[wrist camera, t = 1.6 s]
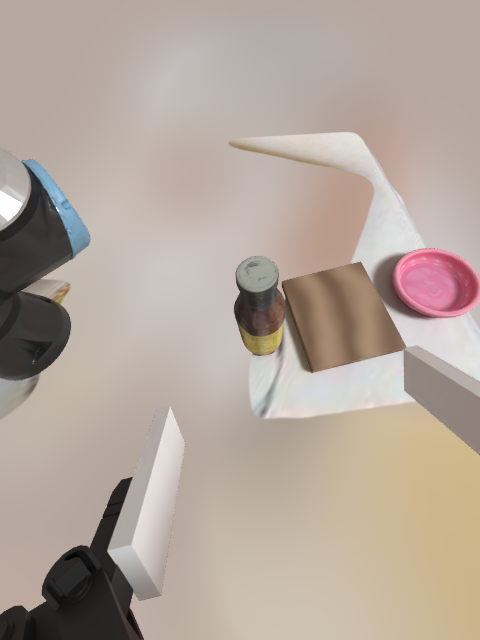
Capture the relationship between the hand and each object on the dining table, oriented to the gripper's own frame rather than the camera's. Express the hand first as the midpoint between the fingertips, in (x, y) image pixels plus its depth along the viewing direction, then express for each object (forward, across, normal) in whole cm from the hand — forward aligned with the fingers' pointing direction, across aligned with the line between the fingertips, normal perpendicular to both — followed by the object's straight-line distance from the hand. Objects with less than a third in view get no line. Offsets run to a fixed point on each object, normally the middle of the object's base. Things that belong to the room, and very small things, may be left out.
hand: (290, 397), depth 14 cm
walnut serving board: (+27, +14, -8) cm, 32 cm away
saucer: (+28, +30, -8) cm, 42 cm away
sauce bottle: (+27, +1, -9) cm, 28 cm away
